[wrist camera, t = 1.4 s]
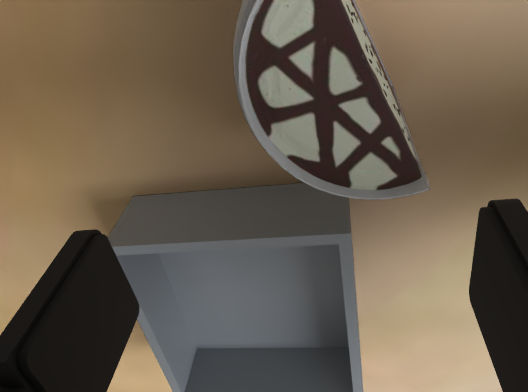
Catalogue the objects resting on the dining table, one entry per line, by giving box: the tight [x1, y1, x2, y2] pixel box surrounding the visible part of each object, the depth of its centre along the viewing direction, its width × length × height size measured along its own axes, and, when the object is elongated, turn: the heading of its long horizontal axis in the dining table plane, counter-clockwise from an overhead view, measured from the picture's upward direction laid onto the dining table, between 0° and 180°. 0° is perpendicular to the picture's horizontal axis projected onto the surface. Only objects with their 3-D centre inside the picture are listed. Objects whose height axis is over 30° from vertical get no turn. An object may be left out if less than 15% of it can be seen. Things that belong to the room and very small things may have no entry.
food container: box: [233, 0, 430, 200], centre depth 22 cm, size 12×6×10 cm, turn 31°
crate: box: [107, 183, 363, 392], centre depth 36 cm, size 17×19×6 cm
